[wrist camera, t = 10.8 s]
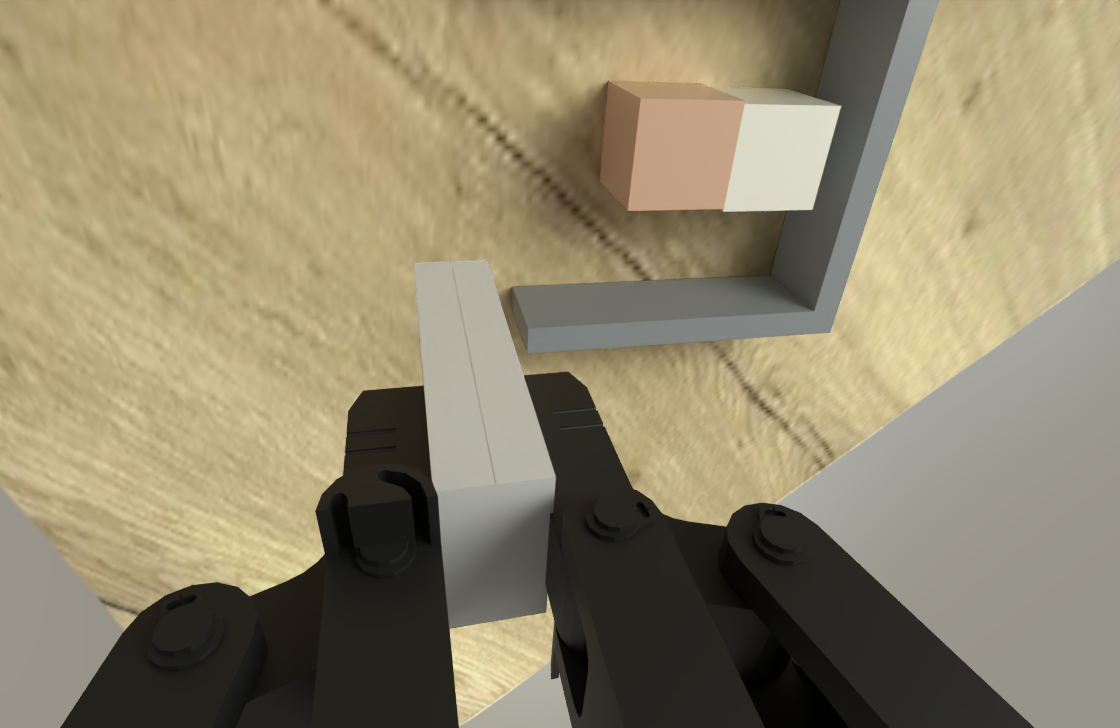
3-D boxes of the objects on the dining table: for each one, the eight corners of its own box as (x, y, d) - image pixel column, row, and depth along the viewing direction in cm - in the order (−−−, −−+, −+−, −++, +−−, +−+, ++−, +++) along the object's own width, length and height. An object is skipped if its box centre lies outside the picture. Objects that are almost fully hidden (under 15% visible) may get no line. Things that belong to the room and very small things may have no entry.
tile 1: (607, 80, 31) (640, 98, 27) (700, 83, 32) (745, 100, 28) (599, 180, 34) (627, 210, 30) (684, 179, 35) (723, 208, 31)
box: (519, -117, 26) (543, -131, 22) (888, -81, 30) (967, -88, 26) (512, 310, 37) (527, 353, 33) (785, 295, 41) (829, 332, 36)
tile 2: (699, 86, 32) (744, 104, 28) (785, 88, 33) (841, 105, 29) (684, 182, 35) (723, 211, 31) (764, 181, 36) (812, 209, 32)
